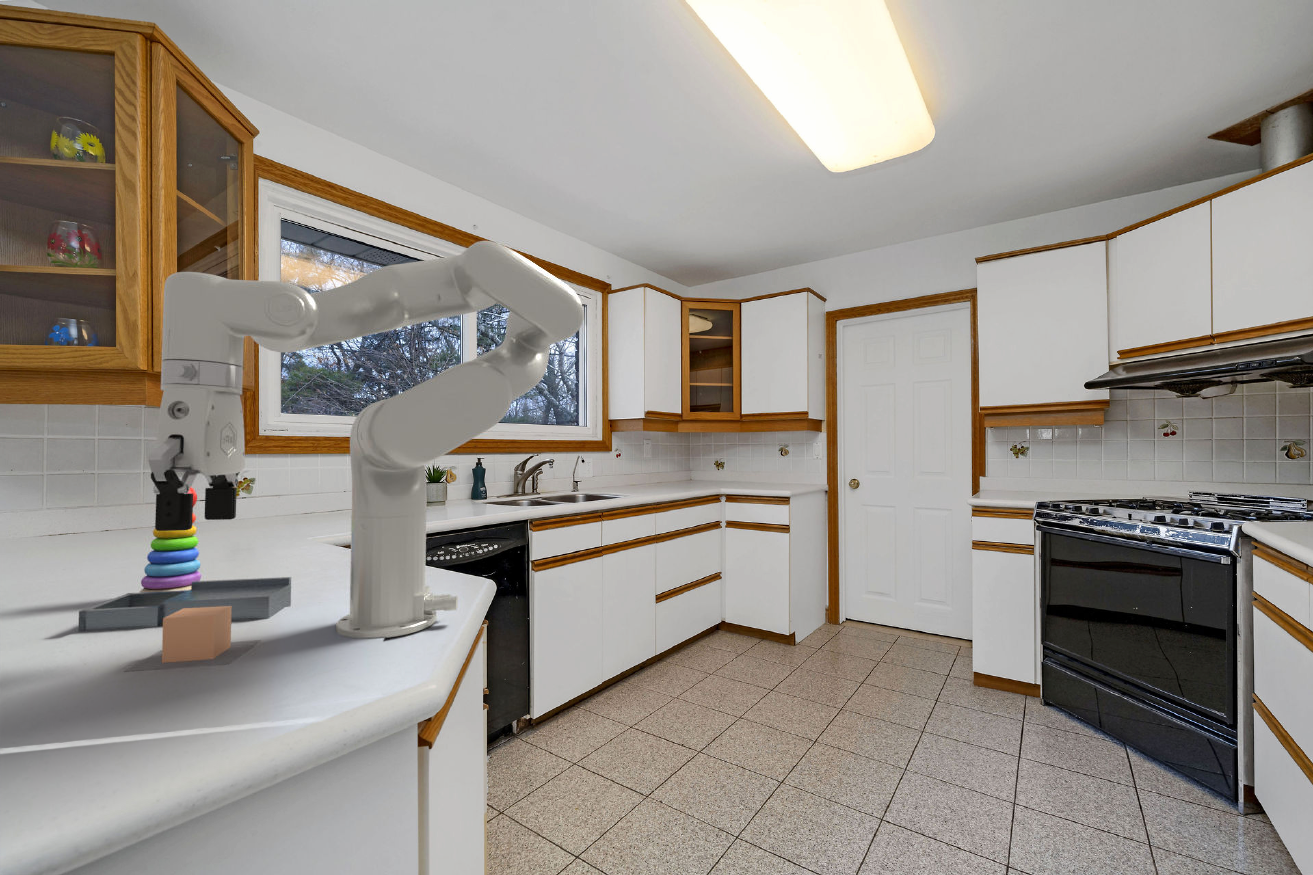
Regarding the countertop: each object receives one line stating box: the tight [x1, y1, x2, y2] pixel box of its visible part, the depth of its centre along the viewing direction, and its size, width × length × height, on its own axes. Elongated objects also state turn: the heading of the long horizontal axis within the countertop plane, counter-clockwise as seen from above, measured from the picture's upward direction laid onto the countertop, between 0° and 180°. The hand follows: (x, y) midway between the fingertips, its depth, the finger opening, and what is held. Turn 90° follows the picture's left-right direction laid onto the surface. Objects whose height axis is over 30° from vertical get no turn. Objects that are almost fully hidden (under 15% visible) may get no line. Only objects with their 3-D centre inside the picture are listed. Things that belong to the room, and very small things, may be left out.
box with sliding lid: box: [77, 576, 292, 632], centre depth 81 cm, size 22×10×4 cm, turn 104°
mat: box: [122, 639, 262, 673], centre depth 65 cm, size 10×8×1 cm
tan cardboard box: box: [161, 606, 232, 663], centre depth 66 cm, size 5×4×5 cm
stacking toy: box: [138, 486, 202, 593], centre depth 92 cm, size 8×8×19 cm
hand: (198, 524), depth 66 cm, fingers open, 9 cm apart
